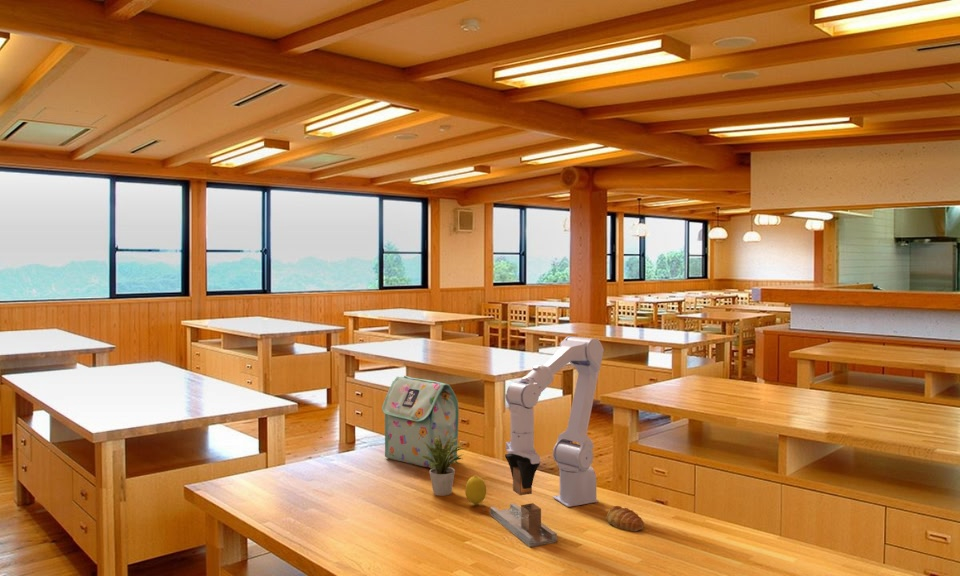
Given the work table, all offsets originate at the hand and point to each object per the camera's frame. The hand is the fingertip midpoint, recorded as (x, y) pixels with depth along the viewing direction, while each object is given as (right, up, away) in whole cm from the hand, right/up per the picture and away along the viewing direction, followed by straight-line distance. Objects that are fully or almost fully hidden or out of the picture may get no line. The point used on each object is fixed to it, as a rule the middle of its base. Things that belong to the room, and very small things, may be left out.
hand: (522, 485), depth 174 cm
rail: (-1, -9, -5) cm, 10 cm away
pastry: (+25, -9, -3) cm, 27 cm away
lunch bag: (-30, -7, +53) cm, 62 cm away
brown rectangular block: (0, -2, 0) cm, 2 cm away
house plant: (-21, -8, +20) cm, 30 cm away
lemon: (-12, -9, +11) cm, 18 cm away
